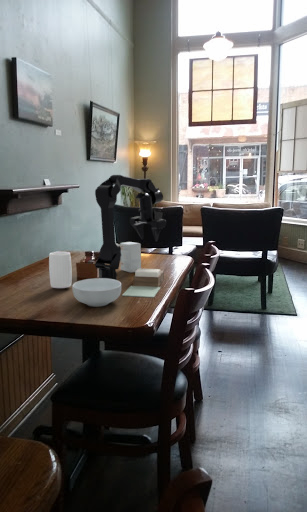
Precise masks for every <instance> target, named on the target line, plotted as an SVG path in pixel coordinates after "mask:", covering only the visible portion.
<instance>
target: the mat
mask: <svg viewBox="0 0 307 512" xmlns="http://www.w3.org/2000/svg"><path fill="white" fill-rule="evenodd" d="M161 288H162V287H161V286H159V287H147V286H134V285H130V286H129V287H128V288H127V289H126V290H125V291H124V293H122V295H121V296H122V297H134V298H135V297H138V298H140V297H141V298H155V296H156V295H157V294H158V292H159V291H160V289H161Z"/></svg>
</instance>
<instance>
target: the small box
mask: <svg viewBox="0 0 307 512" xmlns="http://www.w3.org/2000/svg"><path fill="white" fill-rule="evenodd" d="M119 246H120V247H121V255H122V256H121V260H120V270H121V271H124V272H127V273H135V271H136V270H137V269H139V268H141V269H142V253H141V252H142V249H141V248H142V247H141V246H142V244H141V243H139V242H132V241H126V242H120V243H119Z"/></svg>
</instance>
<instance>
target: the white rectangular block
mask: <svg viewBox="0 0 307 512" xmlns="http://www.w3.org/2000/svg"><path fill="white" fill-rule="evenodd" d="M160 270H161V268H159V269H158V268H142V267H141V268H139V269H137V270H136V271H135V272H134V273H135V275H134V276H138V277H158V276H159V275H160Z"/></svg>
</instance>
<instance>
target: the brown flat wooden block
mask: <svg viewBox="0 0 307 512" xmlns="http://www.w3.org/2000/svg"><path fill="white" fill-rule="evenodd" d="M164 280H165V270H164V269H160V275H159V276H158V277H138V276H135V275H133V286H147V287H161V285H162V284H163V282H164Z"/></svg>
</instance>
